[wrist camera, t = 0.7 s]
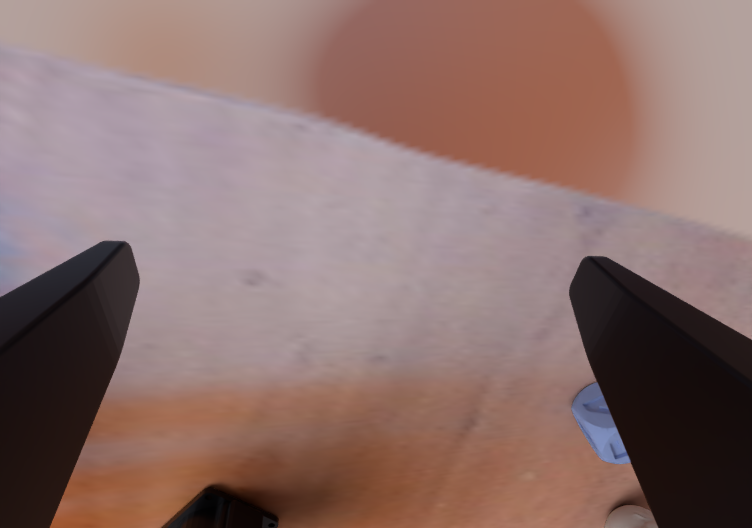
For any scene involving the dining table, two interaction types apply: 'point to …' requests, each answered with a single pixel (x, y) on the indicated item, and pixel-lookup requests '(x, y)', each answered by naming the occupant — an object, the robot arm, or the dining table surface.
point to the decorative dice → (599, 425)
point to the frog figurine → (630, 518)
